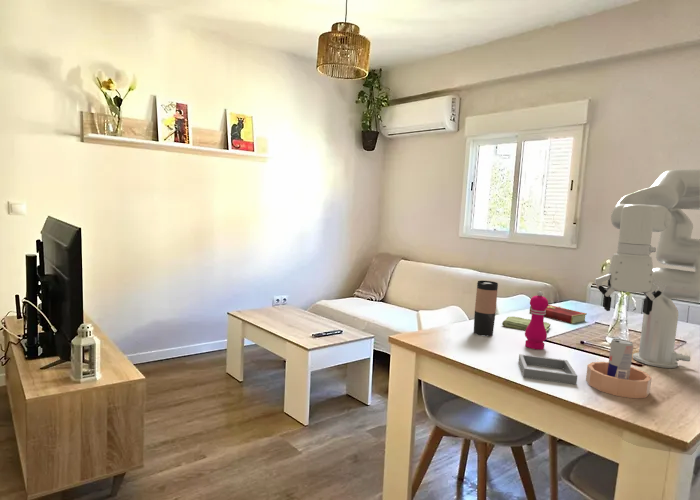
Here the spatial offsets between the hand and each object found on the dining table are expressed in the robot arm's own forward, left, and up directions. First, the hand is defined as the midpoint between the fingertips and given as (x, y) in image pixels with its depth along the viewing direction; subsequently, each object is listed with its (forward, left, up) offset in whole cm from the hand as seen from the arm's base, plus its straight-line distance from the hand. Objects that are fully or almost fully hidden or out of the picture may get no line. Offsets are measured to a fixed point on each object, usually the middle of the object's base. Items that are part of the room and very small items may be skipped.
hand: (626, 311), depth 127 cm
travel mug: (+35, -41, -22) cm, 58 cm away
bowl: (0, 0, -21) cm, 21 cm away
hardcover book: (+1, -88, -22) cm, 91 cm away
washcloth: (+17, -60, -22) cm, 66 cm away
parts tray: (+18, -4, -21) cm, 28 cm away
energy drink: (0, 0, -21) cm, 21 cm away
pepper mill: (+18, -31, -22) cm, 42 cm away
